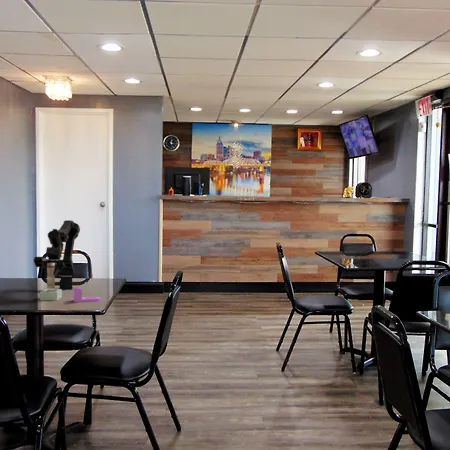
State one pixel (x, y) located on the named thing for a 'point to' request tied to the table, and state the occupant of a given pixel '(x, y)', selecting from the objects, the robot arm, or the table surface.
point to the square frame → (51, 294)
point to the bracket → (79, 297)
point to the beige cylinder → (50, 275)
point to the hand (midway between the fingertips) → (50, 275)
